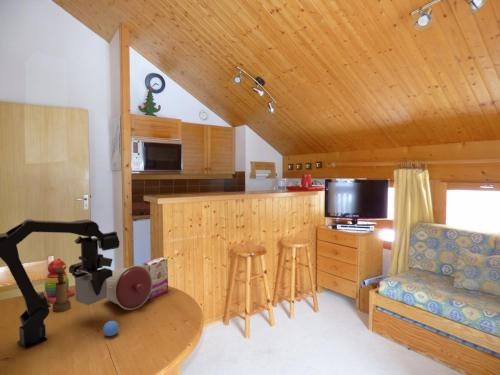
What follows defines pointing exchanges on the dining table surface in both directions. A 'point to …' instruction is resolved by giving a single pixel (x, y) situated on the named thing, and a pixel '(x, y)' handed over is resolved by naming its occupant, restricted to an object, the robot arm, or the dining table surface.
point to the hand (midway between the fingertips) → (91, 292)
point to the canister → (129, 287)
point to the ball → (110, 328)
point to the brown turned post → (61, 293)
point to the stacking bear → (55, 280)
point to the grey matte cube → (88, 290)
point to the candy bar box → (158, 276)
